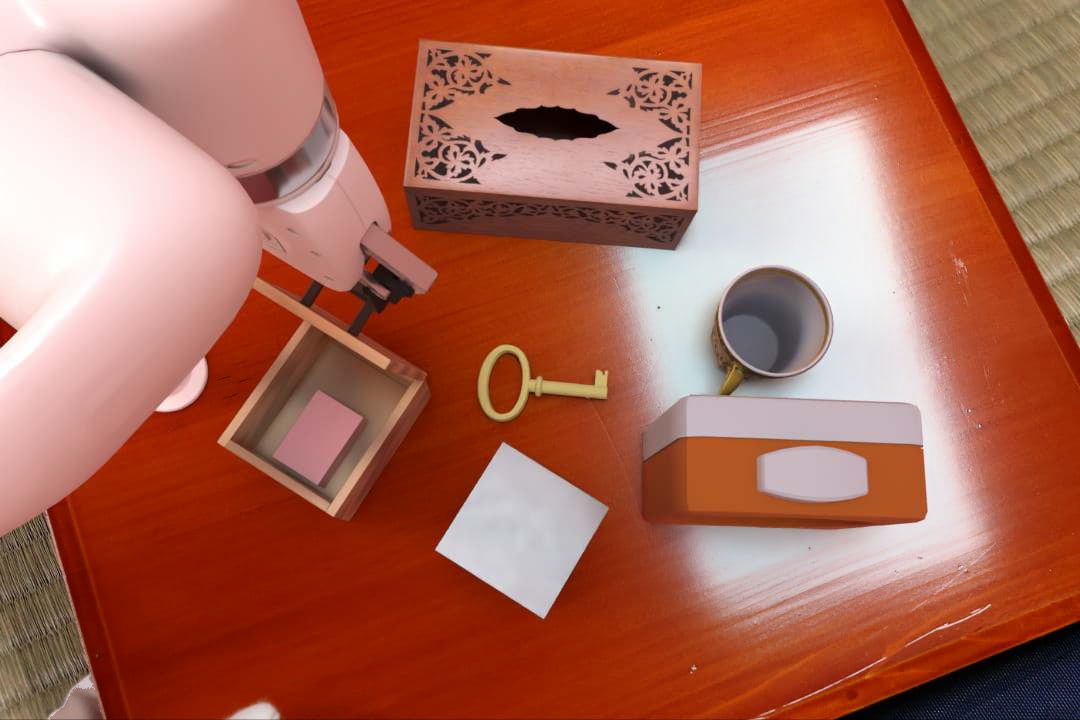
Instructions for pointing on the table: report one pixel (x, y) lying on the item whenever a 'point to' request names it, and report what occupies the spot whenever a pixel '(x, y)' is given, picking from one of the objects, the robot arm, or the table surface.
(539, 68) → the tissue box cover
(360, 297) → the lid
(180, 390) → the candle
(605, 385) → the key
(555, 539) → the stand
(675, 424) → the orange white box
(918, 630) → the table surface
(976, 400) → the table surface
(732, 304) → the ceramic cup
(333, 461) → the pale pink rectangular box
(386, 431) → the chest
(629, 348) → the table surface
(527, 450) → the table surface
